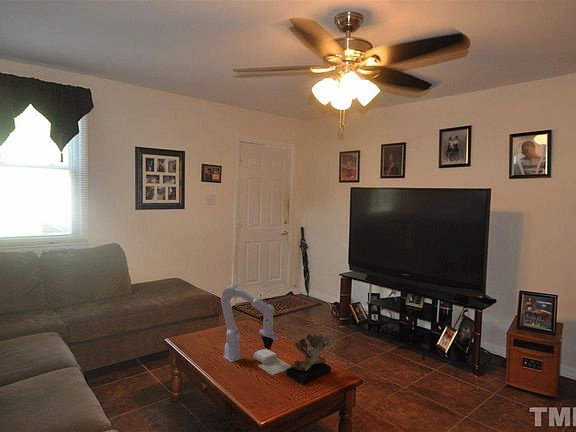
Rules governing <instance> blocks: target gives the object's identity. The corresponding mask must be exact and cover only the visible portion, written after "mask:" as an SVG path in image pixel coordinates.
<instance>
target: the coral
mask: <svg viewBox="0 0 576 432" xmlns="http://www.w3.org/2000/svg"><path fill="white" fill-rule="evenodd" d="M306 339H307V340H308V342H309V344H310V346H311V347H312V349H308V343H307V341H306ZM334 343H335V340H334V339H333V338H331V337H330V336H328V337H327V338H324V336H323V335H321V334H318V335H315V333H313V334H311V333H309V334H308V335H306V337H305V338H301V339H299V340H298V341H294V346H295V348H296V349H297V351H299V353H302V355H303V356H304V358H305V360H301V361H300V360H295V361H294V362H293V364H292V365H291V366H292V367H290V368H288V369H287V370H286V373H285V374H286V377H289V378H290V379H292V380H294V381H295V382H297V383H298V384H300V385H302V386H304V385H307V384H309V383H311V382H314V381H315V380H318V379H319V378H321V377H324V376H327V375H329V374H331V373H332V366H331V365H329V364H327V363H326V362H327V360H326V358H325V357H324V356H323V357H322V356H320V352H324V351H326V350H327V349H328V347H329V346H332V345H333V344H334Z"/></svg>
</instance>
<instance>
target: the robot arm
mask: <svg viewBox="0 0 576 432" xmlns="http://www.w3.org/2000/svg"><path fill="white" fill-rule="evenodd" d="M233 298H235V299H236V298H241V299H243V300H244V301H246V302H248V303H249V304H251V306H252V308H254V309H256V310H257V311H259V312H260V313H261V314H262V315H263V319H262V320H263V321H262V322H263V323H262V324H263V327H262V329H259V331H258V332H259V334H260V339H261V340H262V343H263V346H264V349H267V350H271V349H272V345H273V342H275V341H277V339H278V336H276V334H275V332H274V330H273V329H274V313H275V306H273V305H272V304H270V303H269V304H268V303H266V302H265V301H263V300H262V298H258V297H257V298H254V297H253V296H252V295H251V294H249V293H248V292H246V291H244V290H243V288H241V286H238V285H237V284H235V283H231V284H230V285H229V286H228V287H226V288H225V289H224V290H223V291H222V292H221V298H220V306H221V310H222V313H223V317H224V322H225V326H226V329H227V330H226V340H225V341H226V343H225V344H224V355H223V356H222V357H223V358H224V359H225V360H227V361H229V362H231V363H234V362H236V361H239V360H242V359H243V356H240V355H241V354H240V353H241V351H240V349H241V348H240V345H241V342H240V340H241V337H242V334H241V331H240V330H239V328H238V327H237V326H236V322H235V317H234V313H233V308H232V304H231V300H232V299H233ZM261 334H262V336H261Z"/></svg>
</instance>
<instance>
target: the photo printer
mask: <svg viewBox="0 0 576 432" xmlns="http://www.w3.org/2000/svg"><path fill="white" fill-rule="evenodd" d="M278 357H279V356H278V354H277V353H275V352H273V351H272V350H271V349H269V350H267V348H264V349H260V350H257V351H255V352H253V359H254V360H256V361H258V362H259V363H260V364H267V363H270V362H273V361H275V360H277V359H278Z"/></svg>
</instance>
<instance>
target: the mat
mask: <svg viewBox="0 0 576 432" xmlns="http://www.w3.org/2000/svg"><path fill="white" fill-rule="evenodd" d="M292 366H293V365H291V364H290V363H289V364H288V363H287V362H285V361H283V360H281V359H280V358H277V360H275V361H273V362H270V363H267V364H263V363H260V364H258V365H257V367H258V368H260V369H261V370H263V371H265V372H266V373H268V374H269V375H271V376H275V375H277V374H280V373H283V372H285V371H286V370H287V369H288V368H290V367H292ZM286 372H287V371H286Z"/></svg>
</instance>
